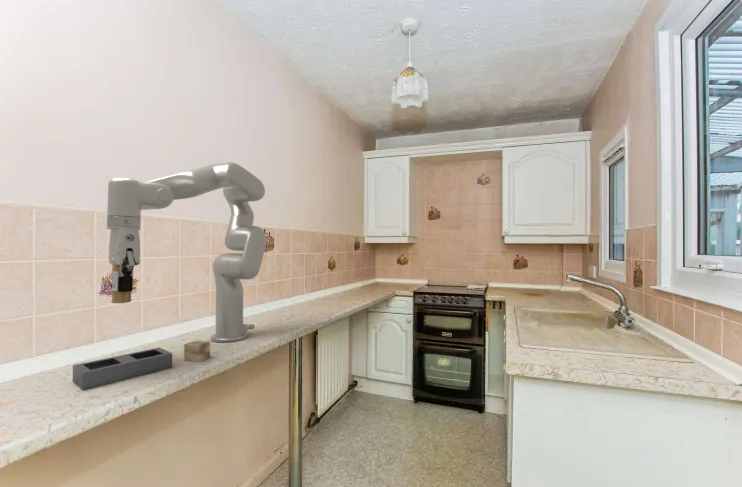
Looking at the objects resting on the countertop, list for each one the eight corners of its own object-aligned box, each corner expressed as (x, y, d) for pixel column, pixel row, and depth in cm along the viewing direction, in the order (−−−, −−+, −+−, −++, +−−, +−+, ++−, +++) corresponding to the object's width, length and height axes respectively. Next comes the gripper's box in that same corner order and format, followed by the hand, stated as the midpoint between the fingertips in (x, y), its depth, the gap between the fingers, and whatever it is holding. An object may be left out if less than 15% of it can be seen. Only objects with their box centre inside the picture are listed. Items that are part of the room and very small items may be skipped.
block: (197, 356, 109) (197, 340, 109) (210, 357, 108) (210, 341, 108) (184, 361, 104) (184, 344, 104) (197, 362, 103) (197, 345, 103)
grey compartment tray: (159, 360, 104) (159, 347, 104) (172, 367, 98) (172, 353, 98) (72, 381, 88) (72, 365, 88) (82, 390, 83) (82, 373, 83)
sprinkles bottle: (131, 302, 94) (132, 253, 95) (110, 304, 92) (111, 253, 92) (131, 300, 98) (133, 253, 99) (111, 302, 96) (113, 252, 96)
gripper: (151, 223, 93) (149, 292, 93) (129, 226, 104) (127, 288, 103) (117, 221, 87) (115, 294, 87) (98, 224, 98) (95, 289, 97)
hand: (121, 290), depth 95 cm, fingers closed on sprinkles bottle, 4 cm apart
